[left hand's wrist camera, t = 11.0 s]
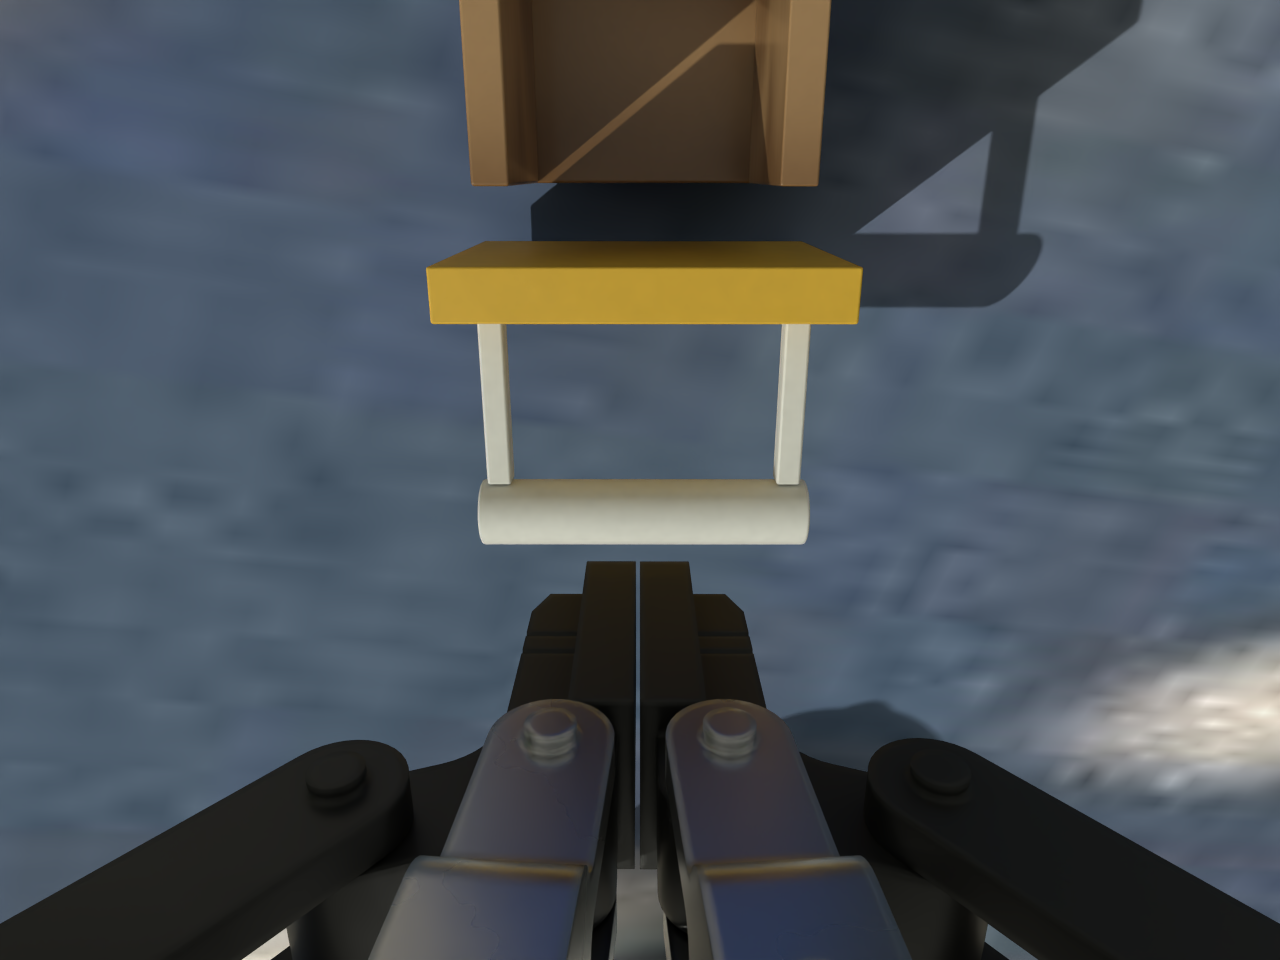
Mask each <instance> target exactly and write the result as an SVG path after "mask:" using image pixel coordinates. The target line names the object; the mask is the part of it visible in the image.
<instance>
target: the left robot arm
mask: <svg viewBox="0 0 1280 960" xmlns="http://www.w3.org/2000/svg"><path fill="white" fill-rule="evenodd" d="M635 741H636V561H587V565H586V572H585V579H584V586H583V594H550V595H549V596H548V597H547V598H546V599H545V600H544V601H543V602H542V603H541V604H540V605H539V606H537V607H536V608H535V609H534V610H533V611H532V613H531V618H530V622H529V626H528V630H527V636H526V638H525V642H524V646H523V654H521V658H520V662H519V666H518V670H517V674H516V678H515V682H514V686H513V690H512V695H511V699H510V703H509V707H508V711H507V713H506V714H504V715H503V716H502V717H501V718H499V719H498V720H497V721H496V722H495V724H494V725H493V726H492V727H491V729H490V731H489V733H488V735H487V738H486V740H485V743H484V746H483V747H481V748H480V749H478V750H476V751H475V752H473V753H471V754H469V755H467V756H465V757H462V758H459V759H457V760H454V761H450V762H447V763H443V764H439V765H435V766H430V767H426V768H421V769H417V770H412V771H409V768H408V764H407V762H406V759H405V758H404V757H403V755H402V754H401V753H400V752H399V751H397V750H396V749H395V748H393V747H391V746H389V745H387V744H383V743H380V742H376V741H369V740H350V741H342V742H336V743H332V744H328V745H324V746H321V747H319V748H316V749H313V750H311V751H309V752H307V753H305V754H303V755H301V756H299V757H297V758H295V759H293V760H292V761H290V762H288V763H286V764H284V765H283V766H281V767H279V768H277V769H275V770H274V771H272V772H270V773H268V774H267V775H265V776H263V777H261V778H259V779H258V780H256V781H254V782H252V783H251V784H249V785H247V786H245V787H243V788H242V789H240V790H238V791H236V792H234V793H233V794H231V795H229V796H227V797H226V798H224V799H222V800H220V801H218V802H217V803H215V804H213V805H211V806H209V807H208V808H206V809H204V810H202V811H201V812H199V813H197V814H195V815H193V816H192V817H190V818H188V819H186V820H185V821H183V822H181V823H179V824H177V825H176V826H174V827H172V828H170V829H168V830H167V831H165V832H163V833H161V834H160V835H158V836H156V837H154V838H152V839H151V840H149V841H147V842H145V843H143V844H142V845H140V846H138V847H136V848H135V849H133V850H131V851H129V852H127V853H126V854H124V855H122V856H120V857H119V858H117V859H115V860H113V861H111V862H110V863H108V864H106V865H104V866H102V867H101V868H99V869H97V870H95V871H94V872H92V873H90V874H88V875H86V876H85V877H83V878H81V879H79V880H78V881H76V882H74V883H72V884H70V885H69V886H67V887H65V888H63V889H61V890H60V891H58V892H56V893H54V894H53V895H51V896H49V897H47V898H45V899H44V900H42V901H40V902H38V903H36V904H35V905H33V906H31V907H29V908H28V909H26V910H24V911H22V912H20V913H19V914H17V915H15V916H13V917H12V918H10V919H8V920H6V921H4V922H3V923H1V924H0V960H242V959H243V958H245V957H246V956H247V955H249V954H250V953H252V952H253V951H254V950H256V949H257V948H259V947H260V946H261V945H263V944H264V943H266V942H267V941H268V940H270V939H271V938H273V937H274V936H275V935H277V934H278V933H280V932H281V931H282V930H284V929H285V928H287V933H288V938H289V943H290V946H289V947H287V948H286V949H285V950H283V951H282V952H281V953H279V954H278V955H277V956H275V957H274V958H273V959H271V960H613V958H614V949H615V941H616V933H617V910H616V887H617V869H634V866H635ZM640 869H657V879H658V897H659V902H660V905H661V908H662V910H663V933H664V941H665V949H666V958H667V960H1009V959H1007V958H1006V957H1005V956H1003V955H1002V954H1001V953H999V952H998V951H997V950H995V949H994V948H993V947H991V946H990V945H988V944H987V943H986V942H985V936H986V931H987V926H988V924H989V925H991V926H992V927H993V928H995V929H996V930H998V931H999V932H1000V933H1002V934H1003V935H1005V936H1006V937H1007V938H1009V939H1010V940H1012V941H1013V942H1014V943H1016V944H1017V945H1019V946H1020V947H1021V948H1023V949H1024V950H1026V951H1027V952H1028V953H1030V954H1031V955H1033V956H1034V957H1035V958H1037V959H1038V960H1280V924H1279V923H1277V922H1276V921H1274V920H1272V919H1270V918H1268V917H1267V916H1265V915H1263V914H1261V913H1260V912H1258V911H1256V910H1254V909H1252V908H1251V907H1249V906H1247V905H1245V904H1243V903H1242V902H1240V901H1238V900H1236V899H1235V898H1233V897H1231V896H1229V895H1227V894H1226V893H1224V892H1222V891H1220V890H1219V889H1217V888H1215V887H1213V886H1211V885H1210V884H1208V883H1206V882H1204V881H1202V880H1201V879H1199V878H1197V877H1195V876H1194V875H1192V874H1190V873H1188V872H1186V871H1185V870H1183V869H1181V868H1179V867H1177V866H1176V865H1174V864H1172V863H1170V862H1169V861H1167V860H1165V859H1163V858H1161V857H1160V856H1158V855H1156V854H1154V853H1153V852H1151V851H1149V850H1147V849H1145V848H1144V847H1142V846H1140V845H1138V844H1136V843H1135V842H1133V841H1131V840H1129V839H1128V838H1126V837H1124V836H1122V835H1120V834H1119V833H1117V832H1115V831H1113V830H1112V829H1110V828H1108V827H1106V826H1104V825H1103V824H1101V823H1099V822H1097V821H1095V820H1094V819H1092V818H1090V817H1088V816H1087V815H1085V814H1083V813H1081V812H1079V811H1078V810H1076V809H1074V808H1072V807H1070V806H1069V805H1067V804H1065V803H1063V802H1062V801H1060V800H1058V799H1056V798H1054V797H1053V796H1051V795H1049V794H1047V793H1046V792H1044V791H1042V790H1040V789H1038V788H1037V787H1035V786H1033V785H1031V784H1029V783H1028V782H1026V781H1024V780H1022V779H1021V778H1019V777H1017V776H1015V775H1013V774H1012V773H1010V772H1008V771H1006V770H1004V769H1003V768H1001V767H999V766H997V765H996V764H994V763H992V762H990V761H988V760H987V759H985V758H983V757H981V756H980V755H978V754H976V753H974V752H972V751H970V750H968V749H966V748H963V747H960V746H958V745H955V744H952V743H948V742H944V741H940V740H934V739H924V738H910V739H903V740H897V741H894V742H891V743H888V744H886V745H885V746H883V747H881V748H880V749H879V750H877V751H876V752H875V753H874V755H873V756H872V757H871V760H870V762H869V765H868V772H865V771H860V770H856V769H852V768H847V767H843V766H838V765H834V764H830V763H826V762H823V761H819V760H817V759H814V758H811V757H809V756H807V755H805V754H803V753H801V752H799V751H798V748H797V746H796V743H795V740H794V738H793V735H792V733H791V731H790V729H789V727H788V726H787V725H786V724H785V722H784V721H783V720H782V719H781V718H779V717H778V716H777V715H776V714H774V713H773V712H771V711H769V710H768V709H766V704H765V700H764V696H763V692H762V687H761V683H760V679H759V675H758V671H757V666H756V662H755V658H754V654H753V652H752V645H751V641H750V637H749V636H748V628H747V624H746V620H745V616H744V612H743V611H742V610H741V609H740V608H739V607H738V606H737V605H736V604H735V603H734V602H733V601H732V600H731V599H730V598H729V597H727V596H726V595H725V594H693V591H692V583H691V575H690V567H689V562H640Z"/></svg>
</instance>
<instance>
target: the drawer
mask: <svg viewBox="0 0 1280 960" xmlns="http://www.w3.org/2000/svg"><path fill="white" fill-rule="evenodd" d="M459 6H460V22H461V37H462V52H463V68H464V83H465V98H466V114H467V129H468V144H469V160H470V175H471V184H472V185H473V186H512V185H522V184H531V183H755V184H765V185H775V186H818V184H819V172H820V158H821V143H822V129H823V115H824V100H825V86H826V72H827V57H828V43H829V29H830V14H831V0H459ZM426 272H427V284H428V295H429V307H430V319H431V323H432V324H477V327H478V342H479V357H480V372H481V387H482V402H483V418H484V433H485V448H486V463H487V478H488V479H485V480H483V482H482V484H481V487H480V492H479V499H478V527H479V534H480V538H481V540H482V542H483V543H484V544H804V543H805V542H806V540H807V536H808V532H809V523H810V502H809V493H808V489H807V485H806V483H805V481H804V480H802V479H800V474H801V460H802V446H803V431H804V417H805V403H806V389H807V375H808V361H809V346H810V332H811V324H857V323H858V320H859V309H860V298H861V287H862V276H863V268H862V267H860V266H858V265H855V264H853V263H851V262H848V261H846V260H844V259H841V258H839V257H837V256H834V255H832V254H830V253H827V252H825V251H823V250H820V249H818V248H816V247H813V246H811V245H809V244H806V243H804V242H802V241H485V242H483V243H480V244H478V245H476V246H474V247H471V248H469V249H467V250H465V251H462V252H460V253H458V254H456V255H453V256H451V257H449V258H447V259H444V260H442V261H440V262H438V263H436V264H433V265H431V266H429V267H427V269H426ZM506 324H782V335H781V352H780V369H779V386H778V403H777V420H776V437H775V454H774V471H773V476H774V479H513V477H514V461H513V442H512V424H511V406H510V387H509V369H508V351H507V332H506Z"/></svg>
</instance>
